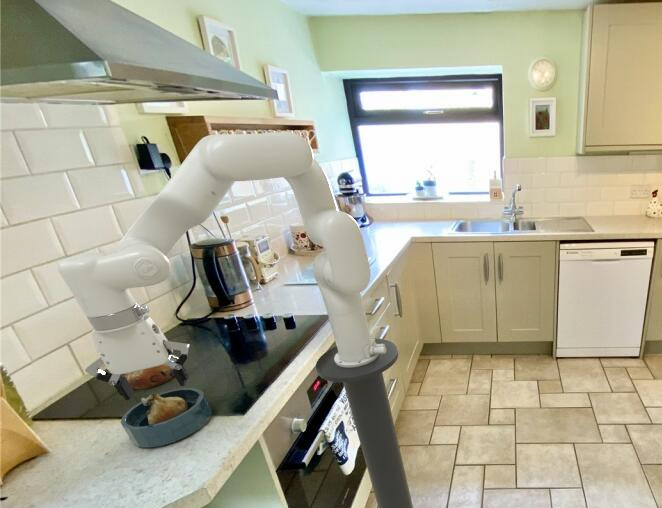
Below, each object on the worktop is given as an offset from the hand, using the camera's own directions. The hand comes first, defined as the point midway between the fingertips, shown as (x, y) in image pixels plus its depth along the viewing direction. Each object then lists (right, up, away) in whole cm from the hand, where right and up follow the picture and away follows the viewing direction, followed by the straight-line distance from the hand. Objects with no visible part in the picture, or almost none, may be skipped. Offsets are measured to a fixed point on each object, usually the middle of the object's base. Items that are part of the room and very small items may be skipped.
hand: (157, 389), depth 89 cm
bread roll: (-20, 0, +23) cm, 31 cm away
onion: (0, -9, +4) cm, 9 cm away
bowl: (0, -9, +4) cm, 10 cm away
